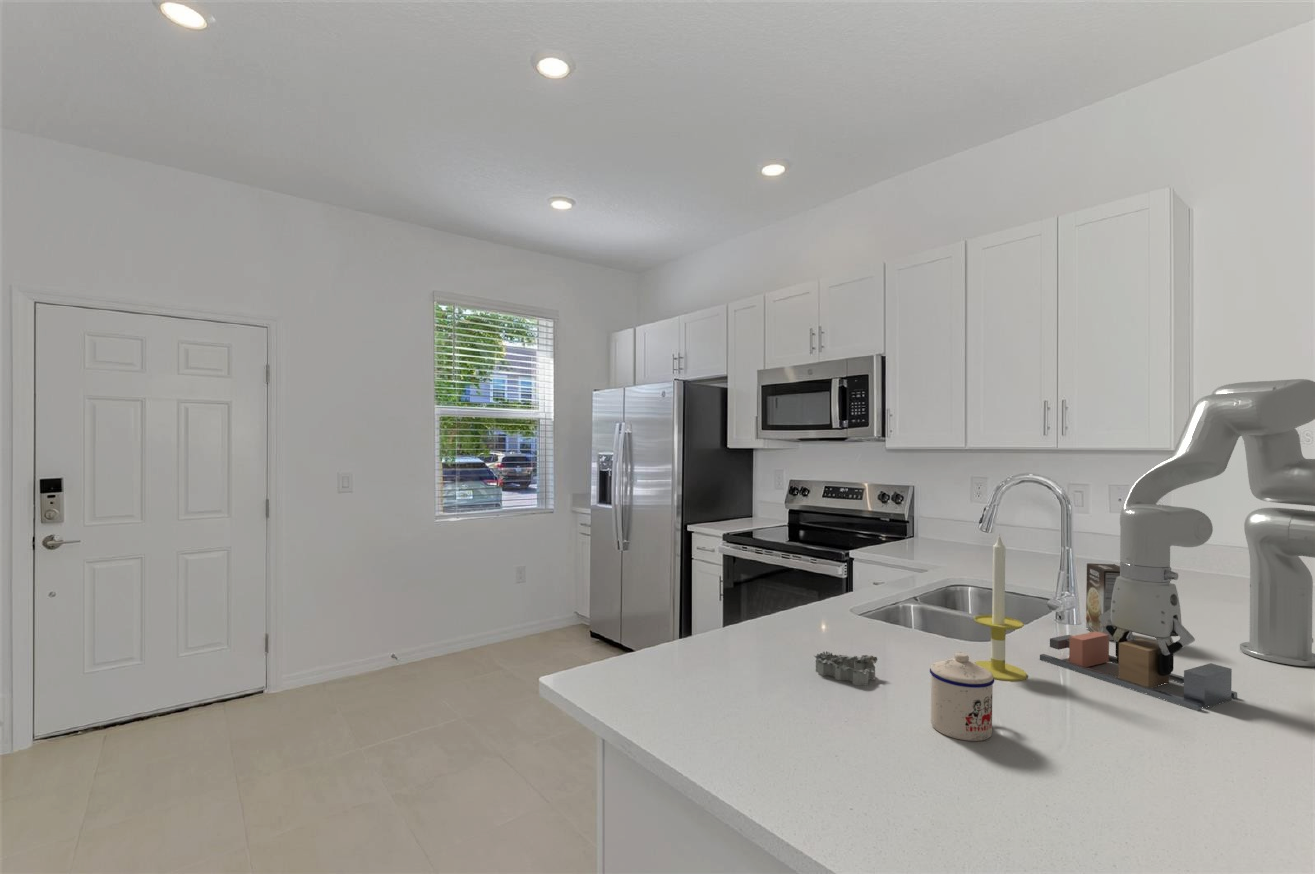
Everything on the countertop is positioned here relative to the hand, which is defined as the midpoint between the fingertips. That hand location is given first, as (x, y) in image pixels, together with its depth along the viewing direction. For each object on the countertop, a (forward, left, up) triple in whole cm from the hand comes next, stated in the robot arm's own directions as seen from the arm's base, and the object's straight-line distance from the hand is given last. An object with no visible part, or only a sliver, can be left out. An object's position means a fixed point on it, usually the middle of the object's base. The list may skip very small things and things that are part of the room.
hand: (1143, 667), depth 120 cm
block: (0, 0, -3) cm, 3 cm away
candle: (+21, -15, -3) cm, 26 cm away
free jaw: (0, -12, -2) cm, 12 cm away
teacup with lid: (+48, -1, -3) cm, 48 cm away
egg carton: (+50, -26, -3) cm, 56 cm away
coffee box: (-25, -20, -3) cm, 32 cm away
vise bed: (0, -2, -3) cm, 3 cm away
